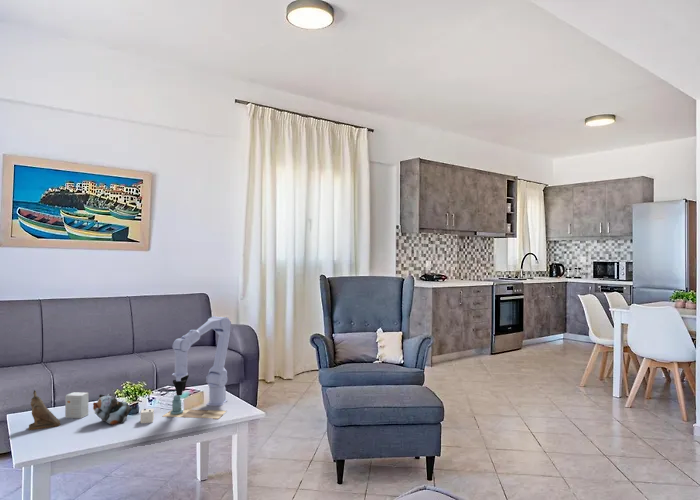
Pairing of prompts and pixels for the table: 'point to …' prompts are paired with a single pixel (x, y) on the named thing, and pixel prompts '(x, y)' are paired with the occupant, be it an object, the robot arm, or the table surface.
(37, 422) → the brown carved statuette
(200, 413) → the game board
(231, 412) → the table surface
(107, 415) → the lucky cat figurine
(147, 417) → the cream block
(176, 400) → the pawn
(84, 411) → the small box
